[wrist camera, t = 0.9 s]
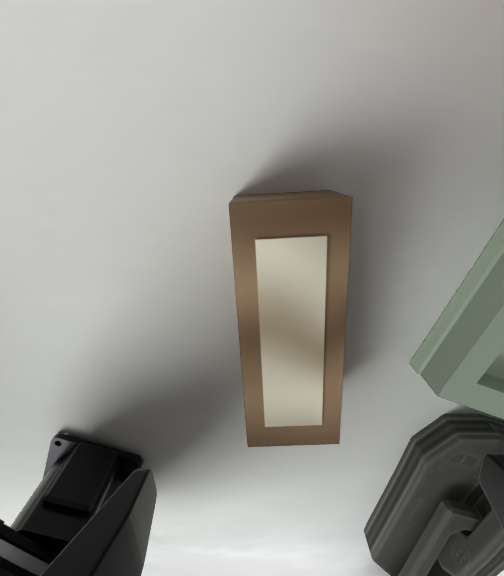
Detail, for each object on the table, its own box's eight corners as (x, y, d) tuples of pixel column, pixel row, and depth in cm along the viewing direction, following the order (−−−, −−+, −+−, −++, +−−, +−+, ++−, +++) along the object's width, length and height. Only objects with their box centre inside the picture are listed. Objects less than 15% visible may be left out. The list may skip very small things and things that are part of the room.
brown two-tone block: (322, 390, 22) (340, 446, 17) (249, 393, 22) (247, 449, 17) (328, 189, 17) (353, 197, 13) (235, 195, 17) (228, 204, 13)
